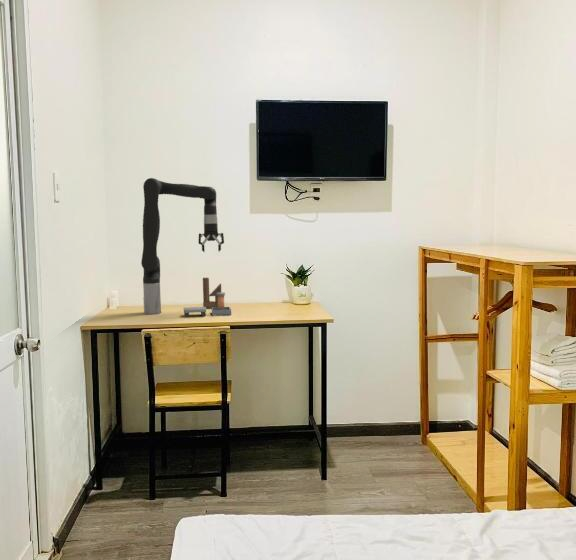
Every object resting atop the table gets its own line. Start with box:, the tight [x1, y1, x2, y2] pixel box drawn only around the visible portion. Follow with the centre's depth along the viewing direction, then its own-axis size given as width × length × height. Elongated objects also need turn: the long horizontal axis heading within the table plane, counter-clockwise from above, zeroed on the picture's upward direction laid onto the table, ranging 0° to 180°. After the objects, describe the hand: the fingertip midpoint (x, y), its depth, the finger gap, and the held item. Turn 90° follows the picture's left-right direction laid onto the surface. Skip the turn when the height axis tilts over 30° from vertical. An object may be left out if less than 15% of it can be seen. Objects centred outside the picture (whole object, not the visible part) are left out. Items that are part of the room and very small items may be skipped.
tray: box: [211, 306, 232, 316], centre depth 326 cm, size 10×10×3 cm
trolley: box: [183, 306, 207, 318], centre depth 322 cm, size 12×8×4 cm, turn 100°
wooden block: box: [202, 277, 222, 309], centre depth 346 cm, size 4×11×18 cm, turn 101°
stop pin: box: [217, 291, 226, 310], centre depth 325 cm, size 5×5×11 cm
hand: (211, 251), depth 331 cm, fingers open, 8 cm apart
